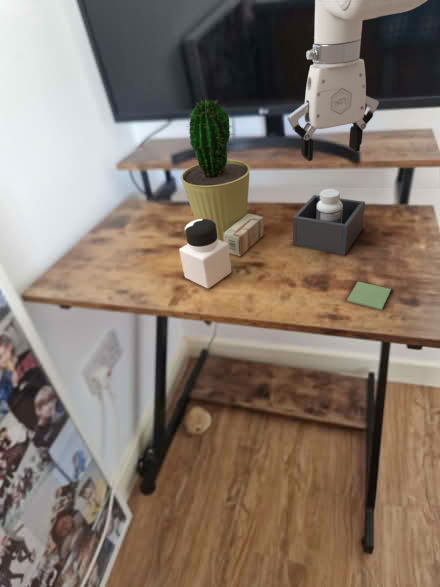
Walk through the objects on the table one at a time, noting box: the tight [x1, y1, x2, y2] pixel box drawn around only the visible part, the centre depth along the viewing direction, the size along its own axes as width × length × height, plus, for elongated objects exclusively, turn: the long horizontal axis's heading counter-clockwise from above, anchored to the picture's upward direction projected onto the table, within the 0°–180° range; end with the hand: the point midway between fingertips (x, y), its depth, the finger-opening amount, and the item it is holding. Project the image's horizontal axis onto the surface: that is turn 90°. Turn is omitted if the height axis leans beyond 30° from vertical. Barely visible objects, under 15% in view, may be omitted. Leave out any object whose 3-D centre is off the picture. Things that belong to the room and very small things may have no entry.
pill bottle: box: [316, 188, 343, 223], centre depth 86 cm, size 5×5×10 cm
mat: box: [346, 281, 392, 311], centre depth 72 cm, size 6×6×1 cm
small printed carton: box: [223, 212, 265, 257], centre depth 90 cm, size 5×4×10 cm
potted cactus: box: [180, 98, 251, 242], centre depth 89 cm, size 15×15×30 cm
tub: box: [292, 194, 366, 256], centre depth 88 cm, size 12×12×7 cm
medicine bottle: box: [178, 219, 232, 289], centre depth 80 cm, size 7×7×12 cm
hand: (331, 154), depth 79 cm, fingers open, 9 cm apart
